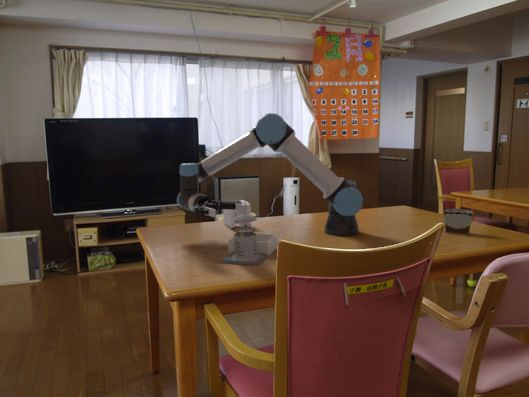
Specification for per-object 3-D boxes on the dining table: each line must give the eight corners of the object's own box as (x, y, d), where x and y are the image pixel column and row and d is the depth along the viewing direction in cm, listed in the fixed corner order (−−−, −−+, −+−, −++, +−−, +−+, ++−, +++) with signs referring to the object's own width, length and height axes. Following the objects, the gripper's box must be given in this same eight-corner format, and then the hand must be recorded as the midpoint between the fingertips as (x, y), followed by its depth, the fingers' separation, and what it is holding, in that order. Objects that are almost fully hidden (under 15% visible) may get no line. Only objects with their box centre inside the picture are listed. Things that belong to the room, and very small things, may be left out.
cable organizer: (252, 228, 200) (251, 203, 198) (230, 230, 196) (229, 205, 195) (243, 222, 214) (242, 199, 212) (222, 223, 210) (222, 200, 209)
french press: (237, 262, 142) (235, 188, 138) (226, 254, 152) (224, 184, 149) (264, 259, 146) (263, 186, 142) (251, 251, 156) (250, 183, 153)
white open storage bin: (278, 246, 166) (278, 234, 165) (268, 256, 153) (268, 242, 152) (241, 244, 170) (241, 231, 170) (228, 252, 158) (228, 239, 157)
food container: (472, 232, 188) (473, 209, 186) (472, 235, 182) (474, 212, 181) (442, 229, 193) (443, 207, 192) (441, 232, 188) (442, 210, 186)
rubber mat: (267, 256, 152) (267, 253, 152) (257, 265, 142) (257, 262, 142) (233, 253, 156) (233, 251, 156) (221, 262, 146) (221, 259, 146)
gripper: (228, 209, 178) (258, 217, 161) (173, 216, 163) (200, 225, 146) (227, 191, 177) (258, 197, 160) (172, 197, 162) (200, 204, 145)
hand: (231, 211), depth 153 cm, fingers open, 13 cm apart
